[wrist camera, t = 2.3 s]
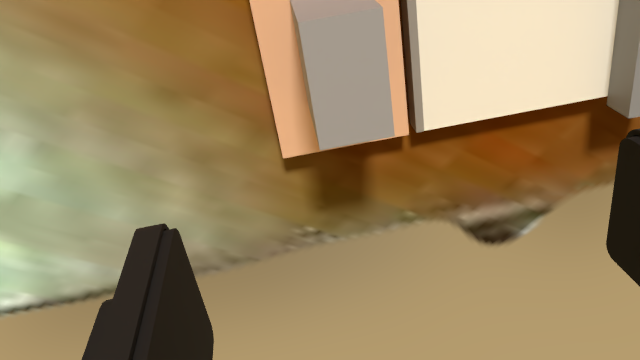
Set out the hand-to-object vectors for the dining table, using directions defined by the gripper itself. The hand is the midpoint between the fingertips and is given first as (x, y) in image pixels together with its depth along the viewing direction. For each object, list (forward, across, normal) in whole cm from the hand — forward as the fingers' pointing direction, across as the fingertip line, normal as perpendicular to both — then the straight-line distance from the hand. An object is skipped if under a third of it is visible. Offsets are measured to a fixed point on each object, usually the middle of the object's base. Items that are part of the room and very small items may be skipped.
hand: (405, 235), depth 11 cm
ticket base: (+16, -11, 0) cm, 19 cm away
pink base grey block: (+16, -1, 0) cm, 16 cm away
